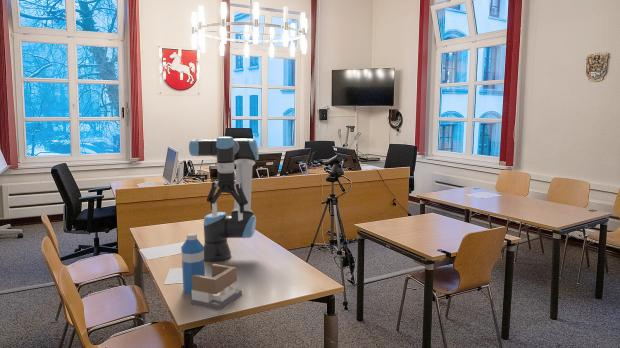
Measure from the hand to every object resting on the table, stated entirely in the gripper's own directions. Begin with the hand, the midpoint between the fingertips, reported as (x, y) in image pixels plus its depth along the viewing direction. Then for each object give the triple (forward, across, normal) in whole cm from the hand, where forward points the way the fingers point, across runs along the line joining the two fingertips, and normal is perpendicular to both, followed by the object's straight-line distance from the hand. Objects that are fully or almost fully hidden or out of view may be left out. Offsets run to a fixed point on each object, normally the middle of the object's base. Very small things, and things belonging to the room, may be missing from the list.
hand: (227, 218), depth 206 cm
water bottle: (+29, -7, -16) cm, 34 cm away
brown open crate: (+23, +7, -20) cm, 31 cm away
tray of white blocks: (+32, +7, -20) cm, 39 cm away
